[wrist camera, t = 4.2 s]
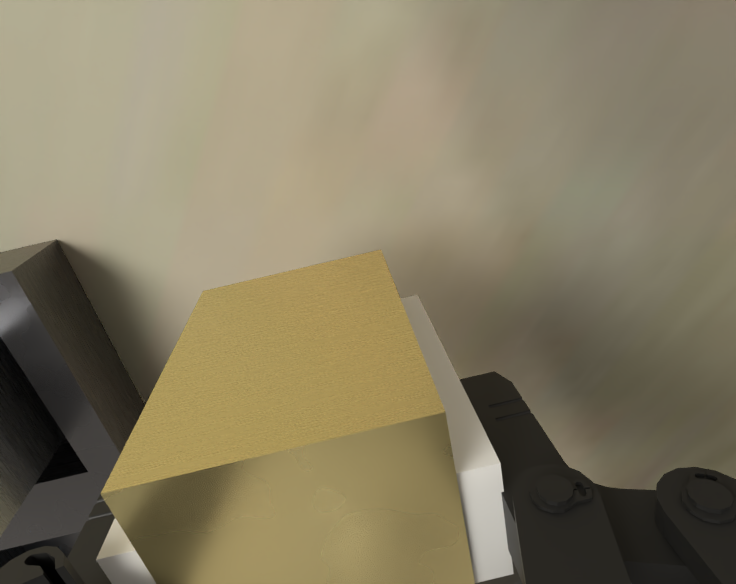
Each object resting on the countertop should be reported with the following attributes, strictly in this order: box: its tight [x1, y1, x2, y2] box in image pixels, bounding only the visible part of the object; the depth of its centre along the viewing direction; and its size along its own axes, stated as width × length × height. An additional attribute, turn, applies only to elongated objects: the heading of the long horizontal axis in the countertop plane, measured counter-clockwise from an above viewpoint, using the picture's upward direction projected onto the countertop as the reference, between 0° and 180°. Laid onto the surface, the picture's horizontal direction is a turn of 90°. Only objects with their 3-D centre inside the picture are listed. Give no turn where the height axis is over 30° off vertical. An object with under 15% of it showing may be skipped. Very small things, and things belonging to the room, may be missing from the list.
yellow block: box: [101, 250, 475, 584], centre depth 11 cm, size 5×5×7 cm
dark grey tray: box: [0, 240, 145, 568], centre depth 21 cm, size 20×10×3 cm, turn 12°
